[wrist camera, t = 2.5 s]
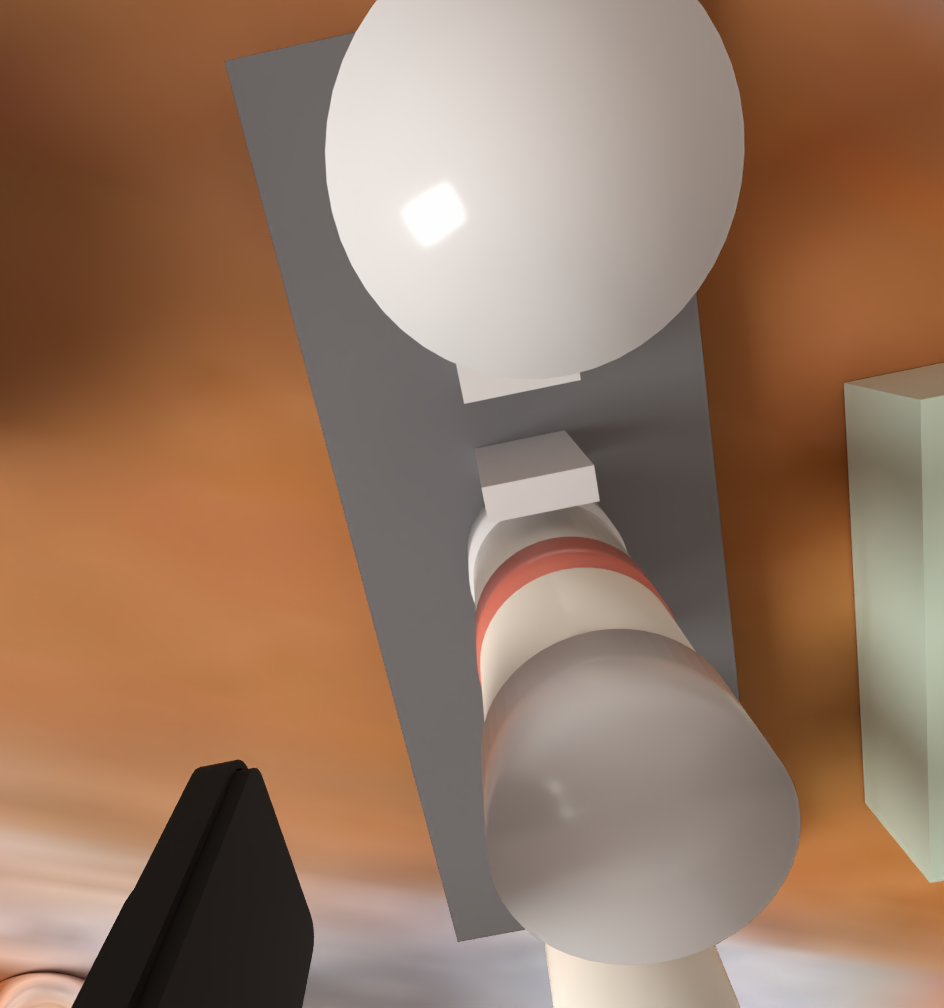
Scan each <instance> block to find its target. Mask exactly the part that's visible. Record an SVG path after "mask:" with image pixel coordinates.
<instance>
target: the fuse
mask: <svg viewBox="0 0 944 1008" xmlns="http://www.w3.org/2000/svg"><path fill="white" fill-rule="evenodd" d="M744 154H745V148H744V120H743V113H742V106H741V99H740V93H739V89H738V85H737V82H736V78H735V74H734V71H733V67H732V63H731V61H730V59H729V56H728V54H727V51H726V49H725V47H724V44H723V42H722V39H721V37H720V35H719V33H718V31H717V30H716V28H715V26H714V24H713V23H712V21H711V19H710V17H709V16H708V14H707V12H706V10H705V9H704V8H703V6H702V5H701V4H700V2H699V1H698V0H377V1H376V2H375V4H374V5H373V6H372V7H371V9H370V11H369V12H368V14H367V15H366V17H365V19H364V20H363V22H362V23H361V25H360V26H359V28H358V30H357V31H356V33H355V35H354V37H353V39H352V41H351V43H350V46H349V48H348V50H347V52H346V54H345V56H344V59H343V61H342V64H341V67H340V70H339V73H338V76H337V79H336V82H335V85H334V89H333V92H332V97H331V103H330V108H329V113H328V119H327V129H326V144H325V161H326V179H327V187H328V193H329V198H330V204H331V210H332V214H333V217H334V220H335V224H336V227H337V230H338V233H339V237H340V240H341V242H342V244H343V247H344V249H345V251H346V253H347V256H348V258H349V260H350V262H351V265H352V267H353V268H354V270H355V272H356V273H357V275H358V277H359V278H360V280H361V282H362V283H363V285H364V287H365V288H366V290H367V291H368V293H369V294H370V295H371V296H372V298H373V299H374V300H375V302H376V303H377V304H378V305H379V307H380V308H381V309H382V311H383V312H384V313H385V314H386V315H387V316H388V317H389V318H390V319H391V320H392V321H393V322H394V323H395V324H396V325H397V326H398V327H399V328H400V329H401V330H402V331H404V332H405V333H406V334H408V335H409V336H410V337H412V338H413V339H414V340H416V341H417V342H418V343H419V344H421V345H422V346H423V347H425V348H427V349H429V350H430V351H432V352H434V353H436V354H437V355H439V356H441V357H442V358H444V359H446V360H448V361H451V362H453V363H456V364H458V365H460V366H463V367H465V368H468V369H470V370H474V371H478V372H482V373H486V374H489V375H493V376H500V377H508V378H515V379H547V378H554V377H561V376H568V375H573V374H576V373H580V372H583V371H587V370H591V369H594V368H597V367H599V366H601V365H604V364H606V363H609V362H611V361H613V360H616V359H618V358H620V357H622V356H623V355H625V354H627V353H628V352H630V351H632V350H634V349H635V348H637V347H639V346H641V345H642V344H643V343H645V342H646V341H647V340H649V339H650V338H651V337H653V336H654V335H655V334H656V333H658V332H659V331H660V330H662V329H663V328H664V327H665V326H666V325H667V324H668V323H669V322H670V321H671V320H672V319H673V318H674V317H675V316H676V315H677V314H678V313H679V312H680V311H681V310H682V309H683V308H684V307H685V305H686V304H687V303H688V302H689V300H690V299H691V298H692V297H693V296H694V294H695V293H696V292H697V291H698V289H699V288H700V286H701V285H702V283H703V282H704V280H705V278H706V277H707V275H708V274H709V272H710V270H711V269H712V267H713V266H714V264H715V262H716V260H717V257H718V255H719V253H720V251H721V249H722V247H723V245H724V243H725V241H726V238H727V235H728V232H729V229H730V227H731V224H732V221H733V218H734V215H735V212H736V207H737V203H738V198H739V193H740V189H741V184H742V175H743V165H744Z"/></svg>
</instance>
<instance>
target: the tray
mask: <svg viewBox="0 0 944 1008" xmlns="http://www.w3.org/2000/svg"><path fill="white" fill-rule="evenodd" d="M844 399H845V418H846V438H847V458H848V477H849V497H850V517H851V536H852V556H853V576H854V596H855V615H856V635H857V655H858V674H859V694H860V714H861V733H862V753H863V773H864V792H865V804H866V805H867V806H868V807H869V809H870V810H871V811H872V812H873V813H874V815H875V816H876V817H877V818H878V820H879V821H880V822H881V823H882V824H883V826H884V827H885V828H886V829H887V831H888V832H889V833H890V834H891V835H892V837H893V838H894V839H895V840H896V842H897V843H898V844H899V845H900V846H901V848H902V849H903V850H904V851H905V853H906V854H907V855H908V856H909V858H910V859H911V860H912V861H913V862H914V864H915V865H916V866H917V867H918V869H919V870H920V871H921V872H922V873H923V875H924V876H925V877H926V878H927V880H928V881H929V882H930V883H932V882H938V881H943V880H944V363H939V364H935V365H930V366H925V367H920V368H915V369H910V370H905V371H900V372H895V373H890V374H885V375H880V376H876V377H871V378H866V379H861V380H856V381H851V382H846V383H844Z"/></svg>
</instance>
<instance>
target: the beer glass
mask: <svg viewBox="0 0 944 1008" xmlns="http://www.w3.org/2000/svg"><path fill="white" fill-rule="evenodd" d="M84 982H85V980H84V979H81V978H78V977H74V976H70V975H66V974H60V973H48V972H41V973H29V974H24V975H19V976H16V977H12V978H9V979H7V980H4V981H2V982H0V1008H71V1007H72V1005H73V1003H74V1001H75V999H76V997H77V995H78V993H79V991H80V989H81V987H82V985H83V983H84Z"/></svg>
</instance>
